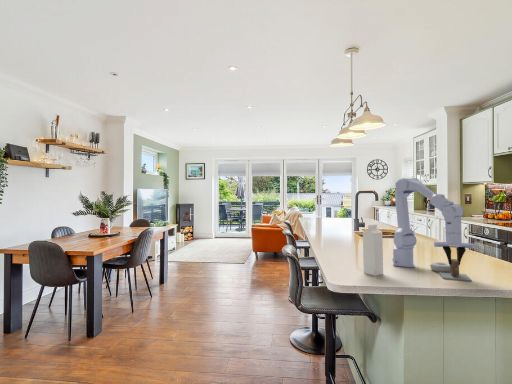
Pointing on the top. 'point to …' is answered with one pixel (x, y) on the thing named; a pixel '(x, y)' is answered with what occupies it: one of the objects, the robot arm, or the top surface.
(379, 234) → the milk
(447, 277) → the mat
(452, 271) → the tall brown wooden block
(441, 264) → the donut
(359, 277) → the top surface
